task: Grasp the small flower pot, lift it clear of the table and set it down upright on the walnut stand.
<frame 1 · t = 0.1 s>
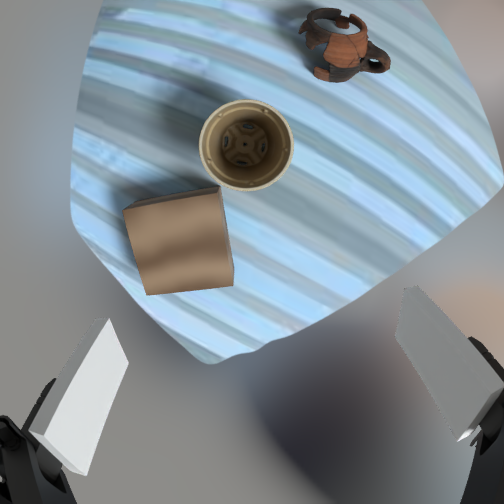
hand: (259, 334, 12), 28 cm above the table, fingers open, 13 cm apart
broken clay jug: (336, 53, 30), on the table
walnut stand: (184, 235, 39), on the table
flower pot: (245, 143, 35), on the table
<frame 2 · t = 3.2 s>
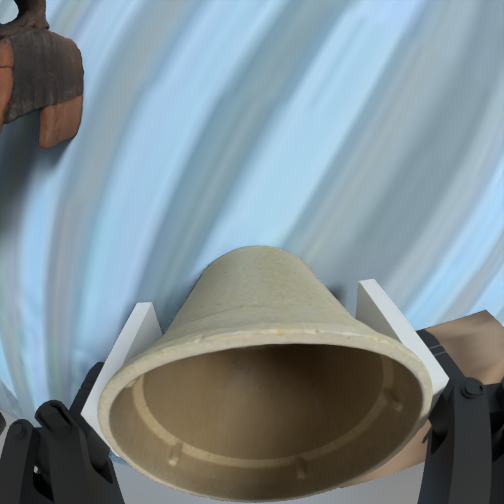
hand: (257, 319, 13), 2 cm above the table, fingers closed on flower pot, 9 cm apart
broken clay jug: (26, 90, 10), on the table
walnut stand: (408, 386, 18), on the table
flower pot: (256, 298, 14), on the table, touching gripper
when the fingers open (7 cm above the table, at t = 7.9 s): flower pot stays where it is, resting on walnut stand.
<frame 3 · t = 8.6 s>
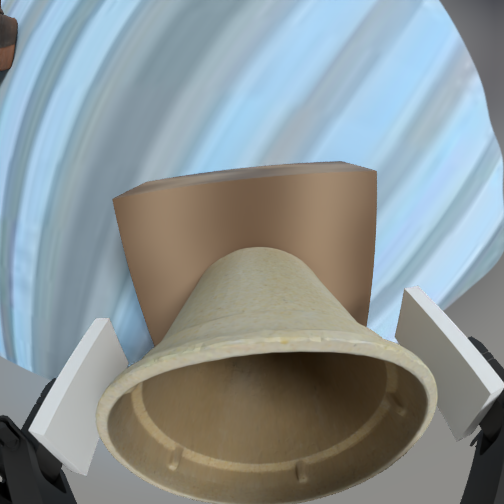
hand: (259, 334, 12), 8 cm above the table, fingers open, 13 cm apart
walnut stand: (253, 261, 19), on the table
flower pot: (257, 300, 14), point 5 cm above the table, touching walnut stand
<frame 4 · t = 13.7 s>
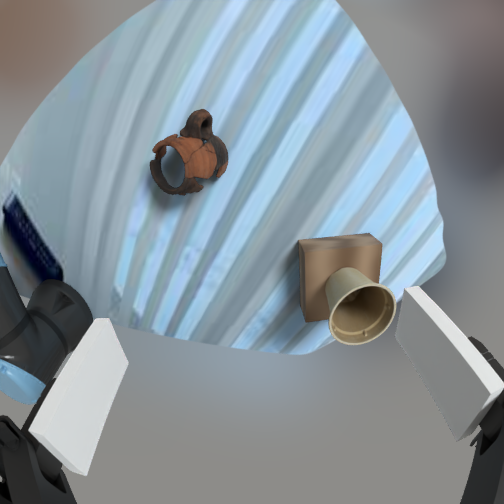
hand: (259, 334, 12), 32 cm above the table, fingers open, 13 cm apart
broken clay jug: (195, 151, 39), on the table
walnut stand: (334, 270, 46), on the table
flower pot: (343, 284, 42), point 5 cm above the table, touching walnut stand
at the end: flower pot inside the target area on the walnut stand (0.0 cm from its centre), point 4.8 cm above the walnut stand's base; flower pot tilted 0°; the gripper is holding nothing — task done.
